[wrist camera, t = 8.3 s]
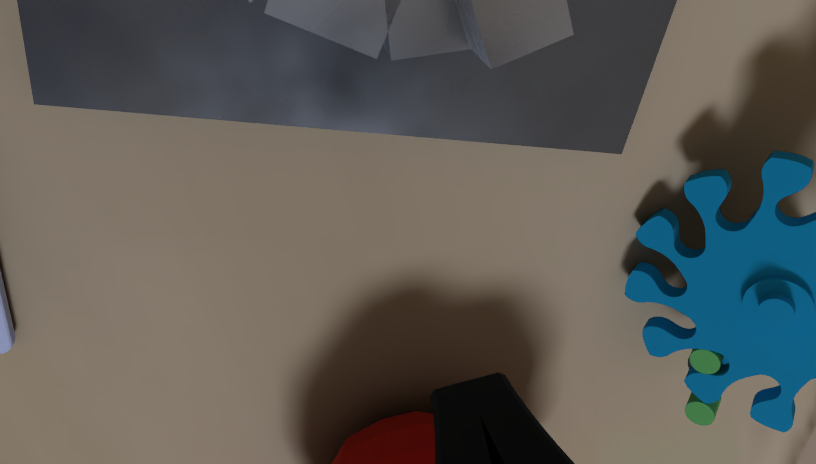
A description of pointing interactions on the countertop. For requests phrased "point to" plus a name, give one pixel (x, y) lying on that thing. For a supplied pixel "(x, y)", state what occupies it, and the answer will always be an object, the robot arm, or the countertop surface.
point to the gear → (738, 293)
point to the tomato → (392, 441)
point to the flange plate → (342, 72)
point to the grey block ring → (432, 25)
